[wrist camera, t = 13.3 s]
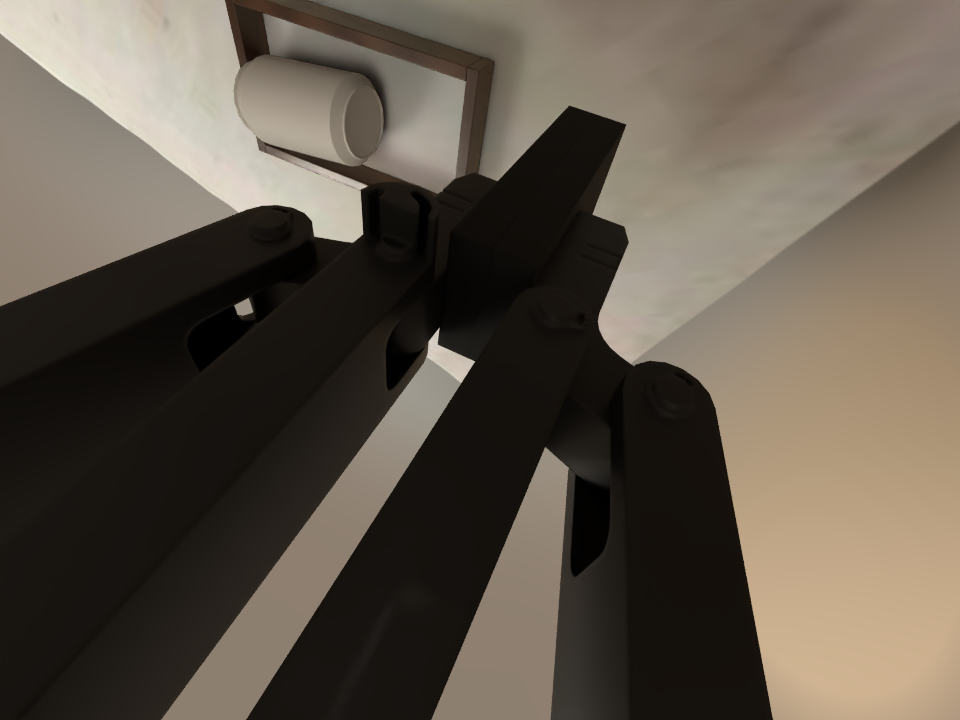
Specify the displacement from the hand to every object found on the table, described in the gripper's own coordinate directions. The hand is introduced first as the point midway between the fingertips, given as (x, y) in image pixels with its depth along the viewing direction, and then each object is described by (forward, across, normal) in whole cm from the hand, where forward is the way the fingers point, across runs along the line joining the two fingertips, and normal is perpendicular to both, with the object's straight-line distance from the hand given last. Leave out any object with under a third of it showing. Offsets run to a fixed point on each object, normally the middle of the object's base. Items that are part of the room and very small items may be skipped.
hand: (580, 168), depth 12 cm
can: (+23, -22, -13) cm, 34 cm away
